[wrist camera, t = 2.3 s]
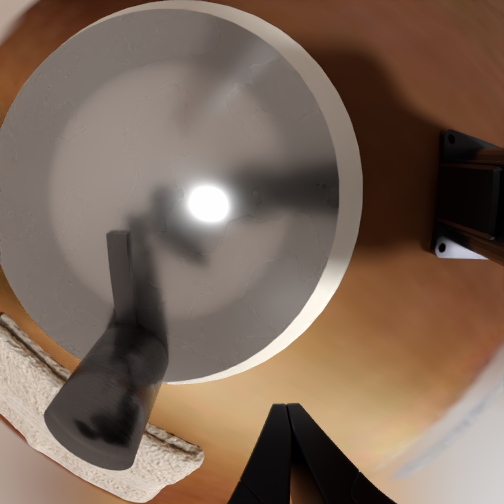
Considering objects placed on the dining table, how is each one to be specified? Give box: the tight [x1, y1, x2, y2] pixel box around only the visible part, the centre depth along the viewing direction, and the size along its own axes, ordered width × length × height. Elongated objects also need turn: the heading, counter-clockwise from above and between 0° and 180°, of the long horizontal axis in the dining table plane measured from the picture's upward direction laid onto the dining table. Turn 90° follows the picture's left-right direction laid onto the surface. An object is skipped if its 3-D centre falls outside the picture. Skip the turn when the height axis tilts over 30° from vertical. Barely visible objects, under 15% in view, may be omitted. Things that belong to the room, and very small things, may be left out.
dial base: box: [62, 0, 363, 384], centre depth 11 cm, size 18×18×2 cm
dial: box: [0, 9, 339, 471], centre depth 8 cm, size 15×15×6 cm
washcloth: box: [0, 313, 204, 503], centre depth 15 cm, size 12×18×3 cm, turn 54°
